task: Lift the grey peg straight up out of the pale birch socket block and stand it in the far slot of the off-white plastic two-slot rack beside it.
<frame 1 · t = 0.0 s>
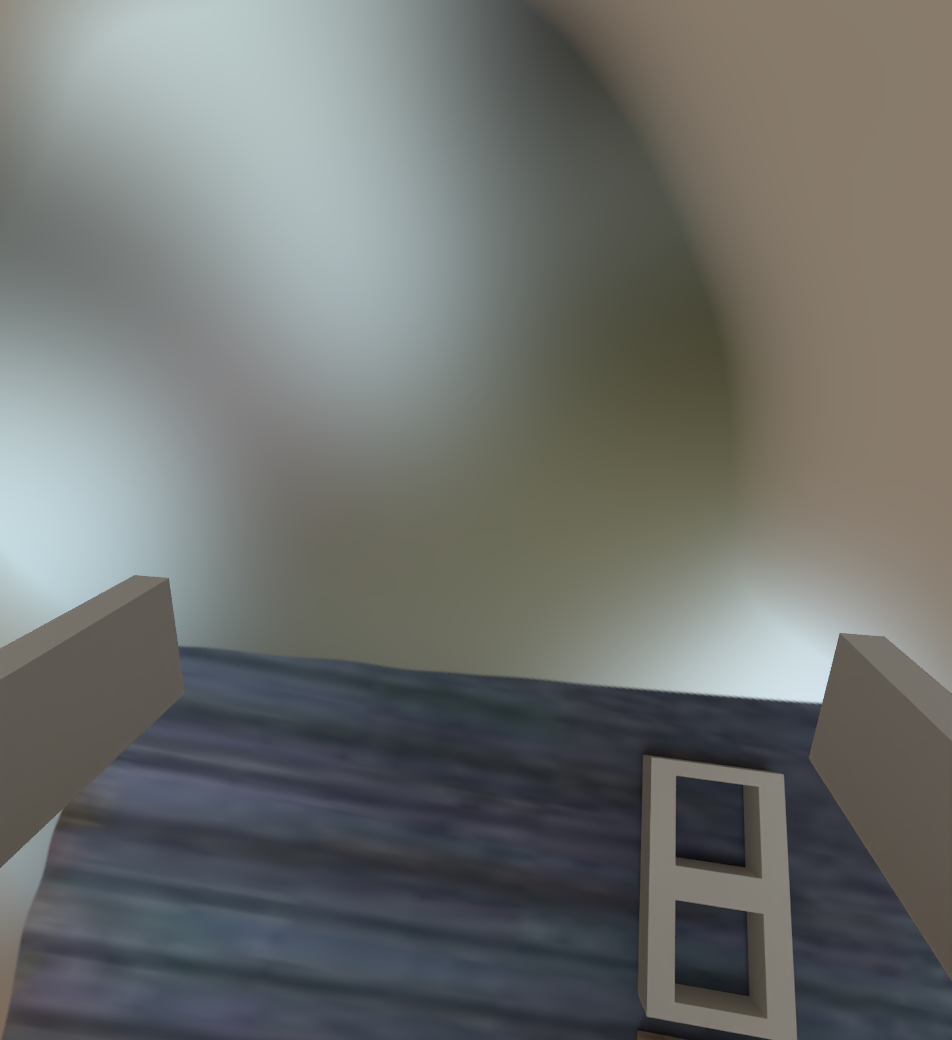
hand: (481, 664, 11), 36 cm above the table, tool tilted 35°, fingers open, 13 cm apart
bit rack: (704, 877, 40), on the table
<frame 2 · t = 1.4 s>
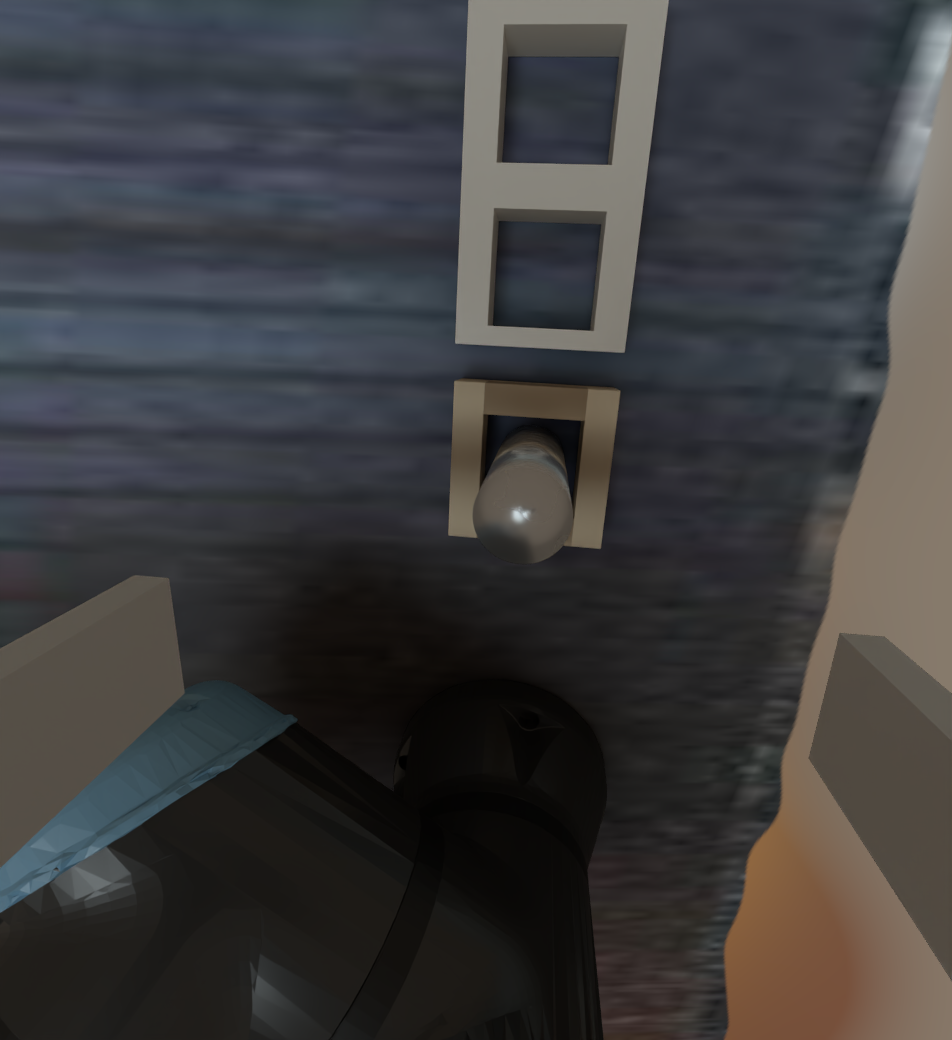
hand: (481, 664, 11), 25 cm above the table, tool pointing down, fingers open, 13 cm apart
bit rack: (551, 202, 30), on the table
socket block: (530, 457, 35), on the table
grey peg: (527, 480, 28), in the socket block
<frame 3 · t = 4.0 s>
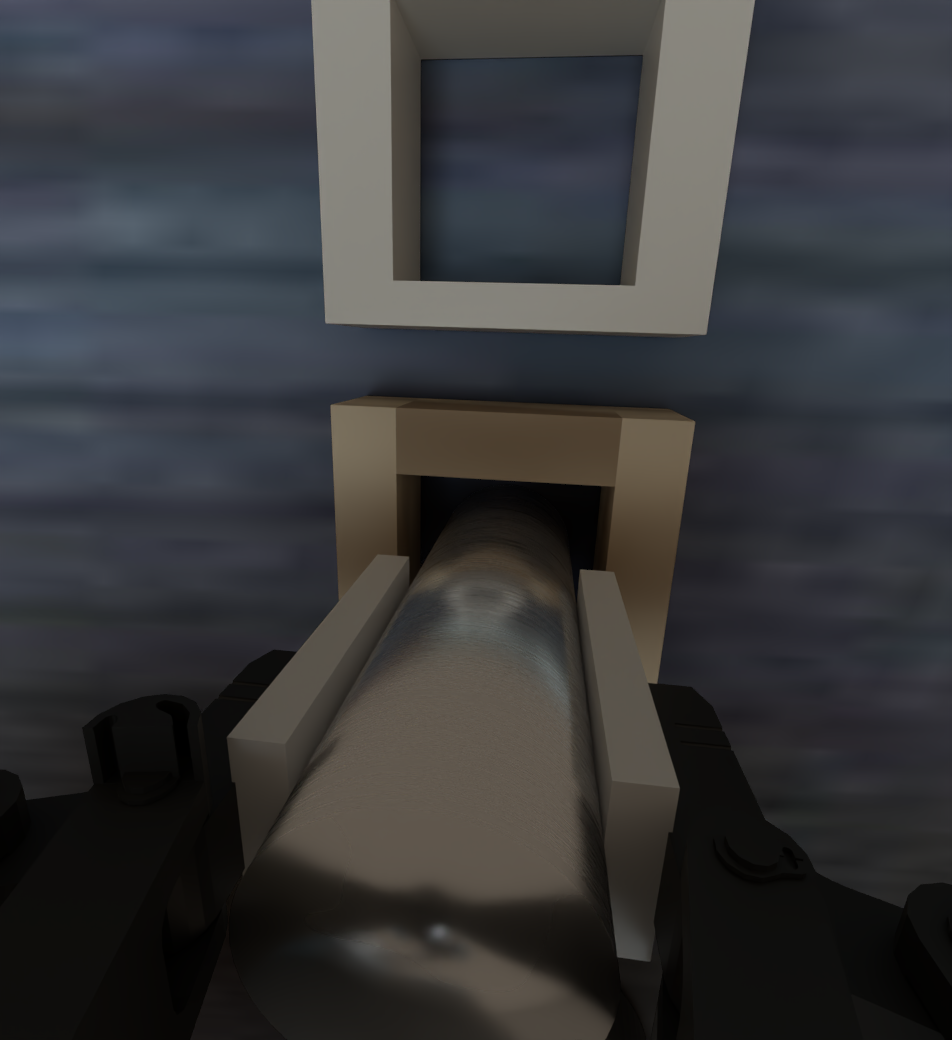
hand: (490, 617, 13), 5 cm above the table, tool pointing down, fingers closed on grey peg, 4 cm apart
bit rack: (532, 8, 14), on the table
socket block: (506, 544, 18), on the table
grey peg: (484, 647, 12), in the socket block, touching gripper
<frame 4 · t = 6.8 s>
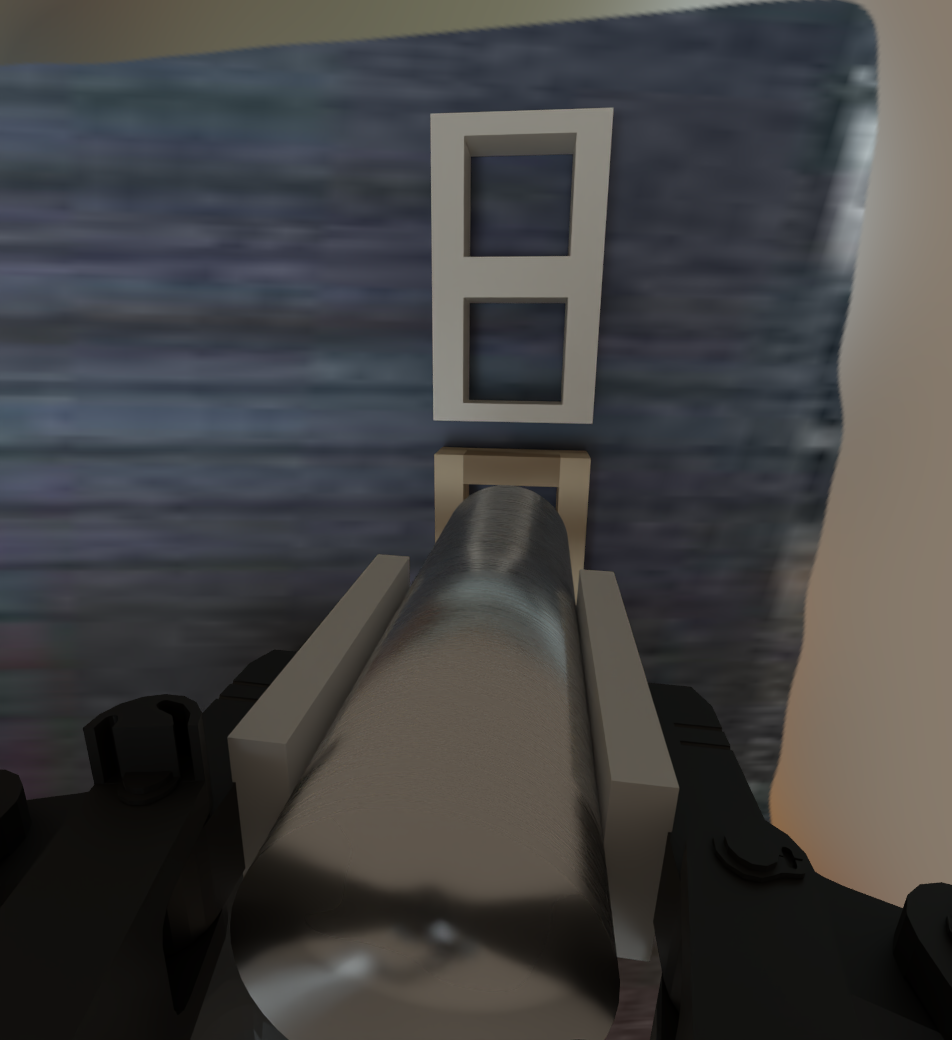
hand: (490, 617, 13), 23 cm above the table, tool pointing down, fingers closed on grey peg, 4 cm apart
bit rack: (517, 284, 33), on the table
socket block: (511, 518, 36), on the table
grey peg: (484, 647, 12), point 24 cm above the table, touching gripper
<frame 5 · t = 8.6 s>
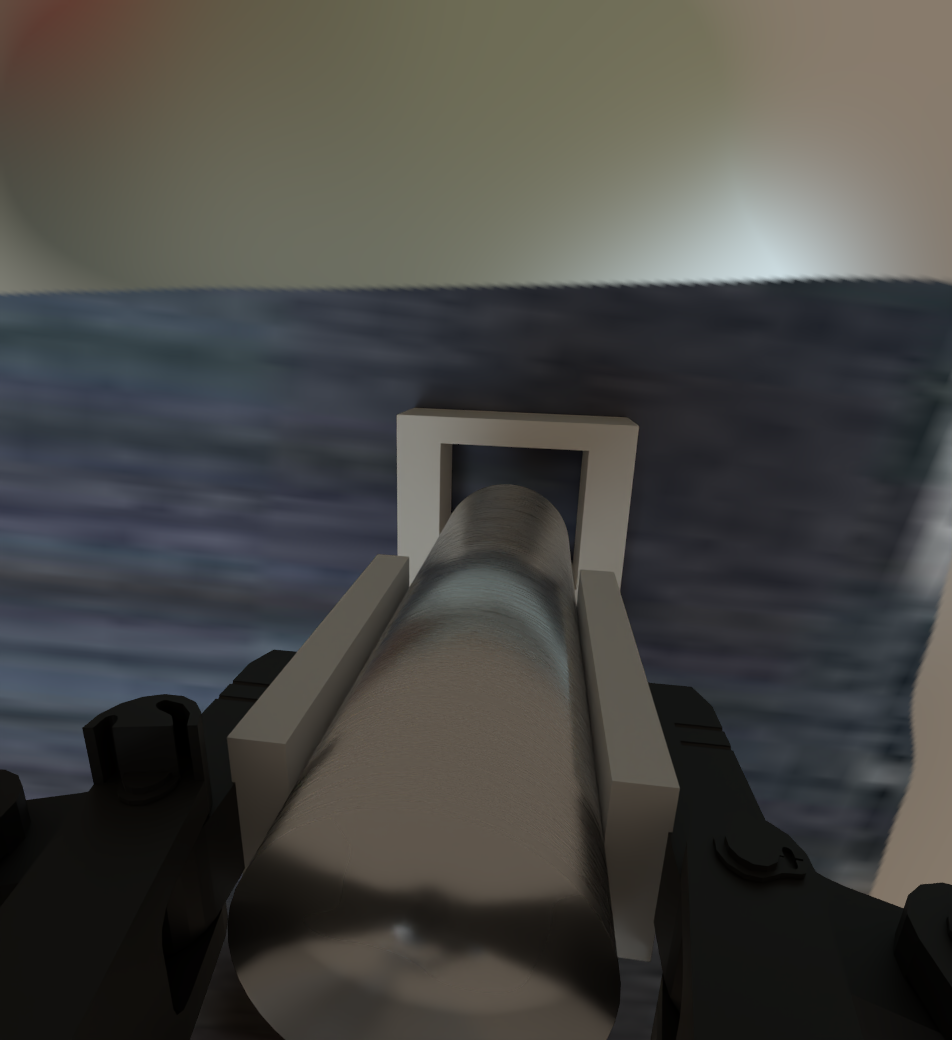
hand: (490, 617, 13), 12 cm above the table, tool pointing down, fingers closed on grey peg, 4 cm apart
bit rack: (509, 579, 26), on the table
grey peg: (484, 647, 12), point 14 cm above the table, touching gripper
when the fingers open (7 cm above the table, at t = 9.9 s): grey peg drops 2 cm, resting in bit rack.
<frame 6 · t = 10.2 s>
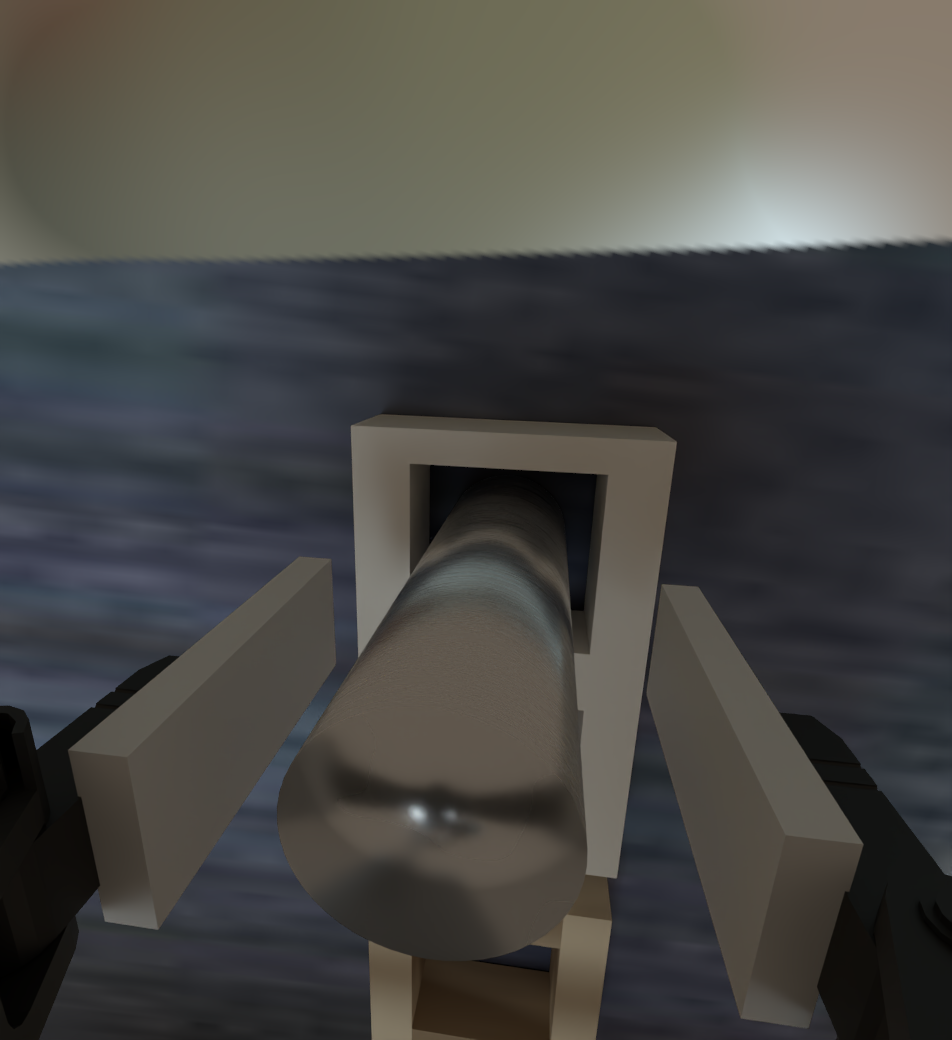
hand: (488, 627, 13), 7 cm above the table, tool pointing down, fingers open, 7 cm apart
bit rack: (503, 629, 21), on the table
socket block: (489, 916, 25), on the table
grey peg: (485, 615, 13), in the bit rack
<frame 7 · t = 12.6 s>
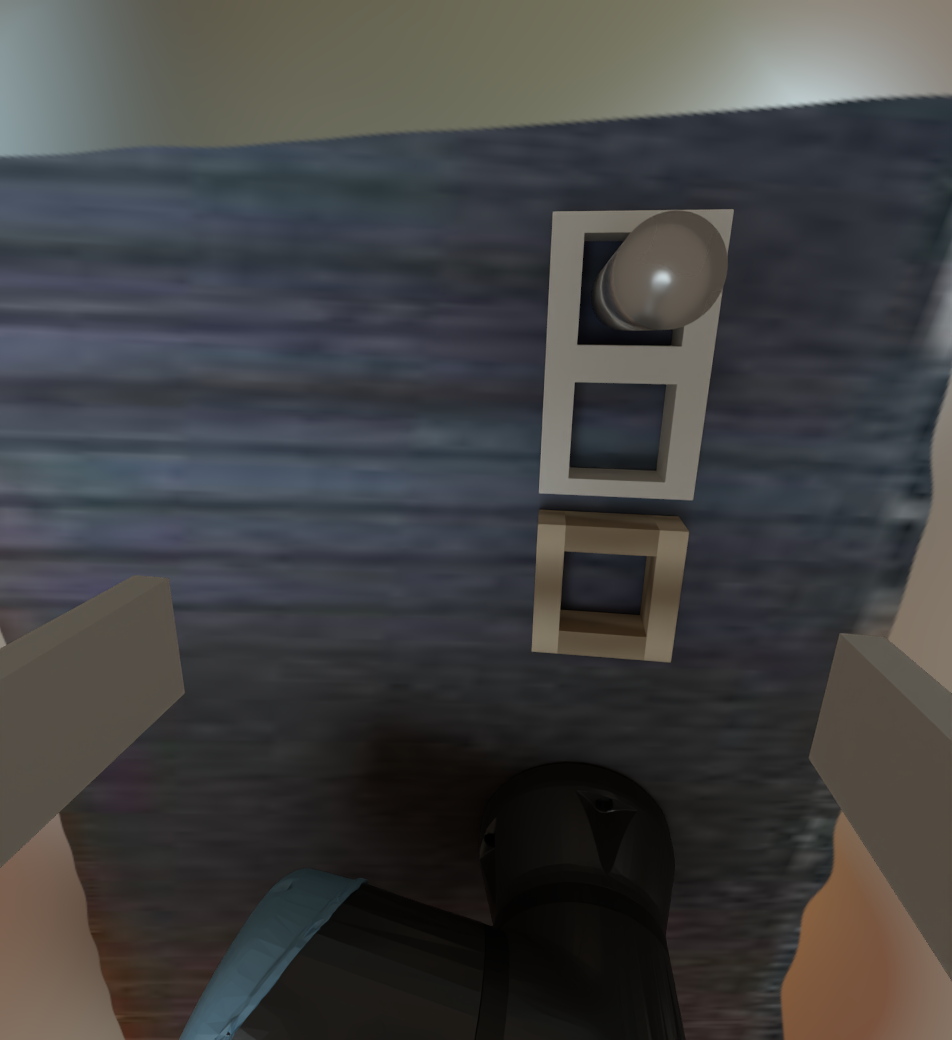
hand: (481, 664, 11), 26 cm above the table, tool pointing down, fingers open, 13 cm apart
bit rack: (620, 362, 34), on the table
socket block: (602, 575, 38), on the table
grey peg: (642, 285, 27), in the bit rack
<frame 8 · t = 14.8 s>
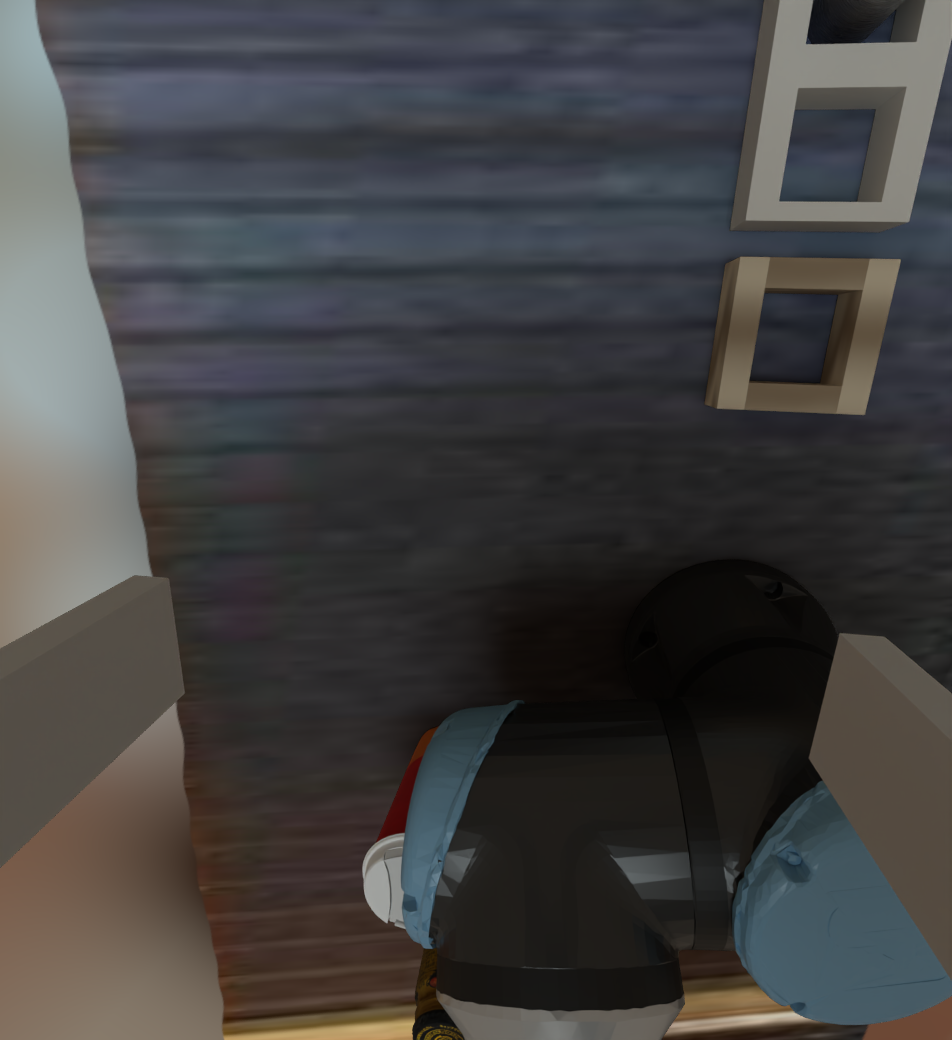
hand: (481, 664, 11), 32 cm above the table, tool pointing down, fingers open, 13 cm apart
bit rack: (829, 89, 33), on the table
condiment: (456, 900, 56), on the table
socket block: (784, 338, 37), on the table
paper cup: (448, 749, 50), on the table
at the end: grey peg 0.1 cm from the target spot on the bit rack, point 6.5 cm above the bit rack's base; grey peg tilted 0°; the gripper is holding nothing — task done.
